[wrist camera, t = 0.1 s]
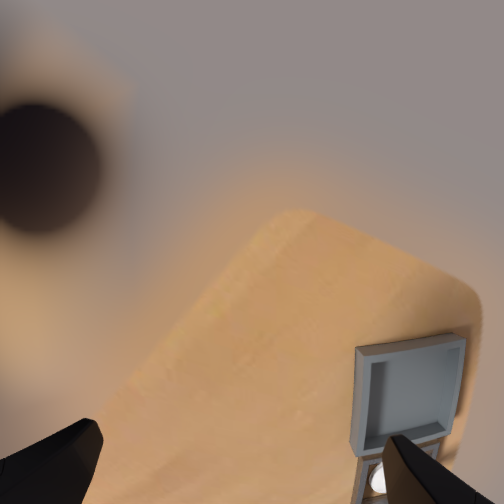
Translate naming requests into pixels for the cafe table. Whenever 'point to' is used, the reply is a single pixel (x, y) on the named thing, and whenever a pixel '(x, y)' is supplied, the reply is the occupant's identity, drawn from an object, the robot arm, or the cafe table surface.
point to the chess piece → (378, 479)
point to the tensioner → (364, 461)
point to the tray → (405, 391)
